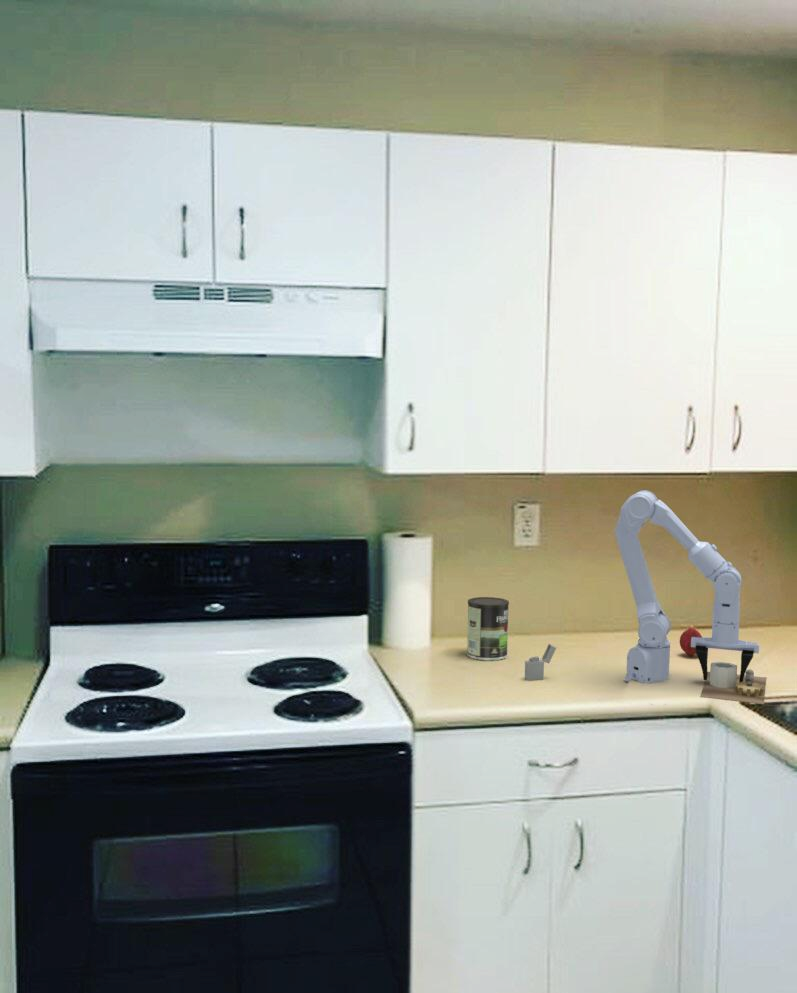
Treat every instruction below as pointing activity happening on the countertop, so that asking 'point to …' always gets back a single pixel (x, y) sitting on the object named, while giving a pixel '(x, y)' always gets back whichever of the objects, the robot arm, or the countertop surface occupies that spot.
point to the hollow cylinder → (723, 674)
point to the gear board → (730, 691)
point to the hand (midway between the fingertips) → (723, 681)
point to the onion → (688, 640)
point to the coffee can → (487, 628)
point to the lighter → (538, 665)
